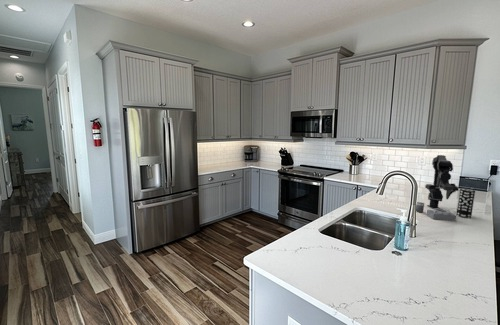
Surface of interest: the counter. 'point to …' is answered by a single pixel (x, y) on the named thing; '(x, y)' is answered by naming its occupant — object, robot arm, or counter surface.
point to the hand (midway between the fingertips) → (439, 198)
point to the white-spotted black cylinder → (465, 203)
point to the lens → (419, 207)
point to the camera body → (441, 214)
